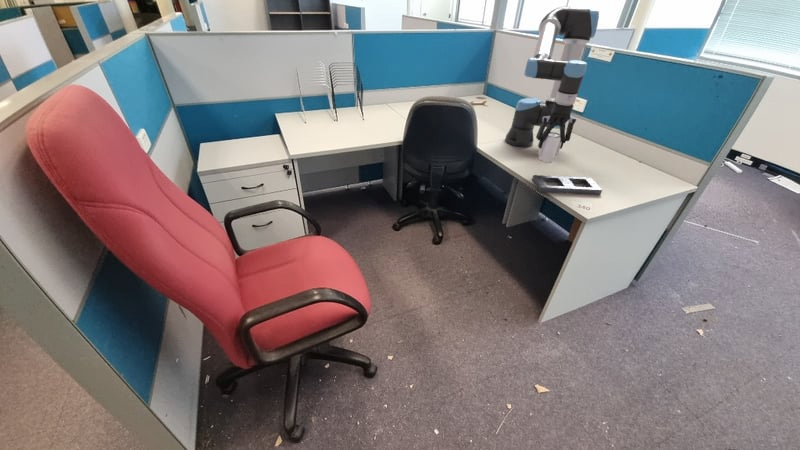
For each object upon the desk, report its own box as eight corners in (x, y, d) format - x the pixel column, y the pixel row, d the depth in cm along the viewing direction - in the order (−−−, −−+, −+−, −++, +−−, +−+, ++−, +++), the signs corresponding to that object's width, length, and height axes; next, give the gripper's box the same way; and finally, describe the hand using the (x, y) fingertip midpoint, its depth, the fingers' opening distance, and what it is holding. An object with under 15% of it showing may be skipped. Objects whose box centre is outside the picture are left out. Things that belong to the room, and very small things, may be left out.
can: (549, 164, 147) (558, 138, 139) (536, 159, 150) (543, 134, 143) (555, 159, 150) (564, 134, 143) (541, 155, 154) (549, 130, 146)
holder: (531, 179, 150) (533, 175, 148) (588, 182, 149) (591, 177, 148) (539, 192, 141) (540, 187, 139) (600, 195, 141) (602, 189, 139)
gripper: (543, 105, 132) (528, 157, 146) (592, 106, 131) (572, 159, 146) (537, 99, 138) (523, 150, 152) (584, 100, 137) (565, 151, 152)
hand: (547, 154), depth 149 cm, fingers closed on can, 6 cm apart
